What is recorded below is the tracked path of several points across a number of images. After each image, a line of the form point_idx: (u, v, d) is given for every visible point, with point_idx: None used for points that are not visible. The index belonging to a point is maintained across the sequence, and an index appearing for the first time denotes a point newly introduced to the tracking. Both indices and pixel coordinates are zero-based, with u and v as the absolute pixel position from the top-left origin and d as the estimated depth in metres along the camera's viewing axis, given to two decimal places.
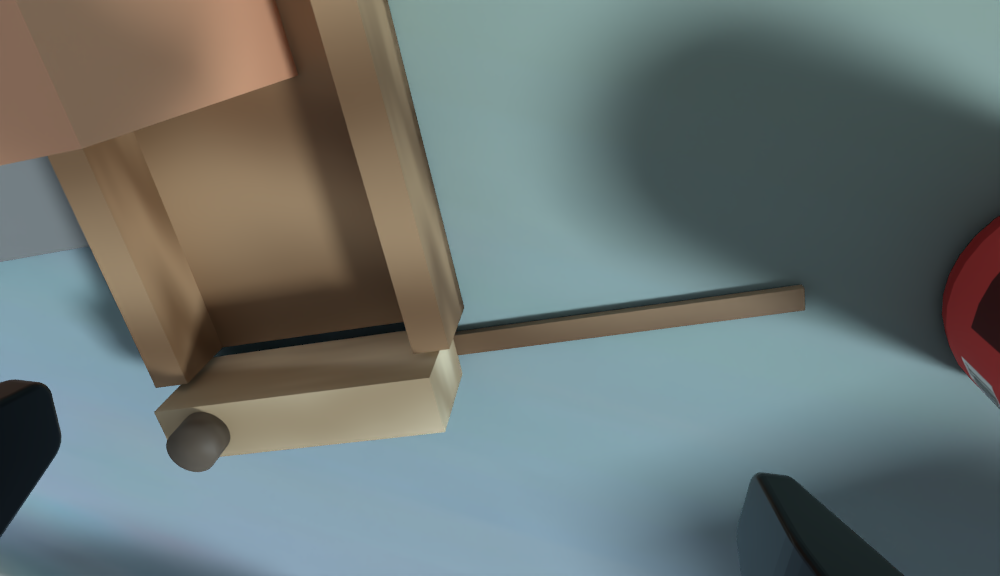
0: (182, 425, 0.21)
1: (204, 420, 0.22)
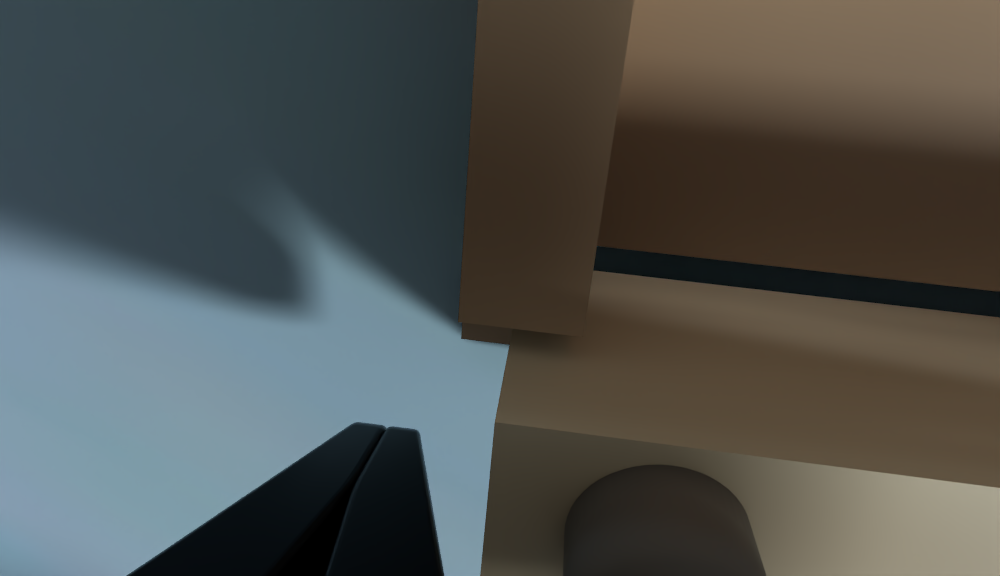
0: (663, 523, 0.05)
1: (730, 516, 0.05)
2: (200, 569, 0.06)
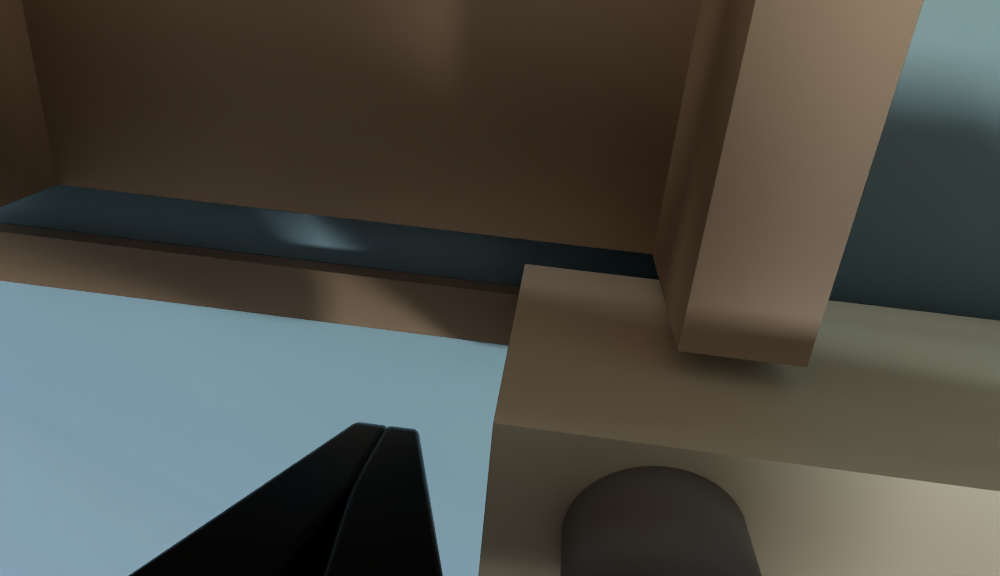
0: (659, 525, 0.05)
1: (726, 516, 0.05)
2: (201, 570, 0.06)
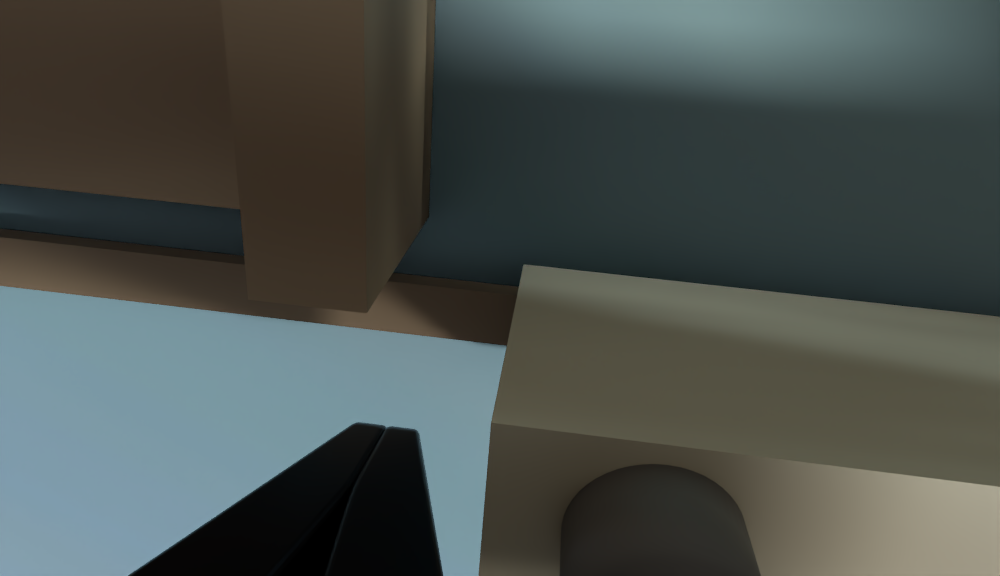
0: (656, 522, 0.05)
1: (722, 514, 0.05)
2: (201, 570, 0.06)
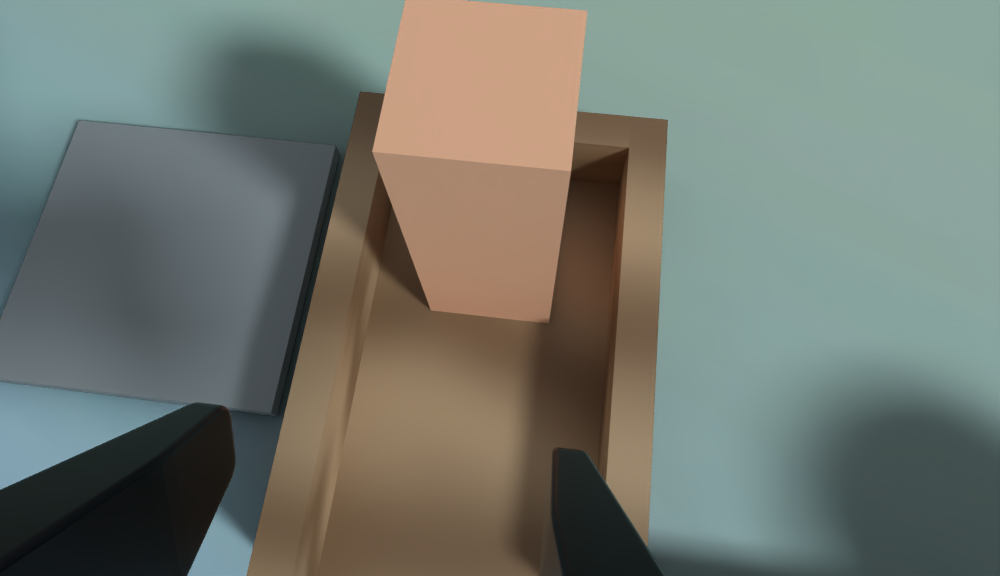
0: None
1: None
2: None
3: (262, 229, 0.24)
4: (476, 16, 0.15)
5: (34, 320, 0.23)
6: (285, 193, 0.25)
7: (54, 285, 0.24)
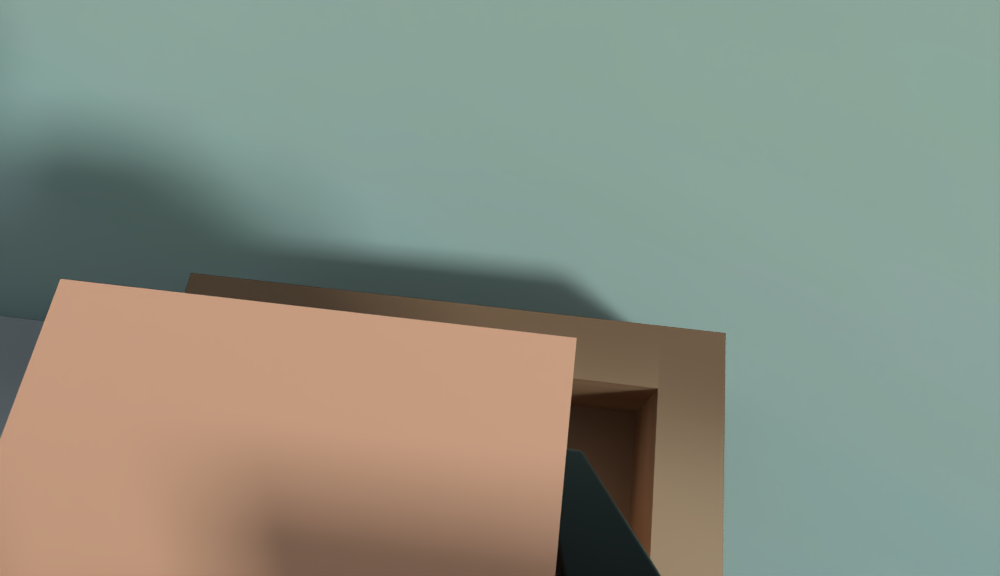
0: None
1: None
2: None
3: None
4: (249, 353, 0.05)
5: None
6: None
7: None
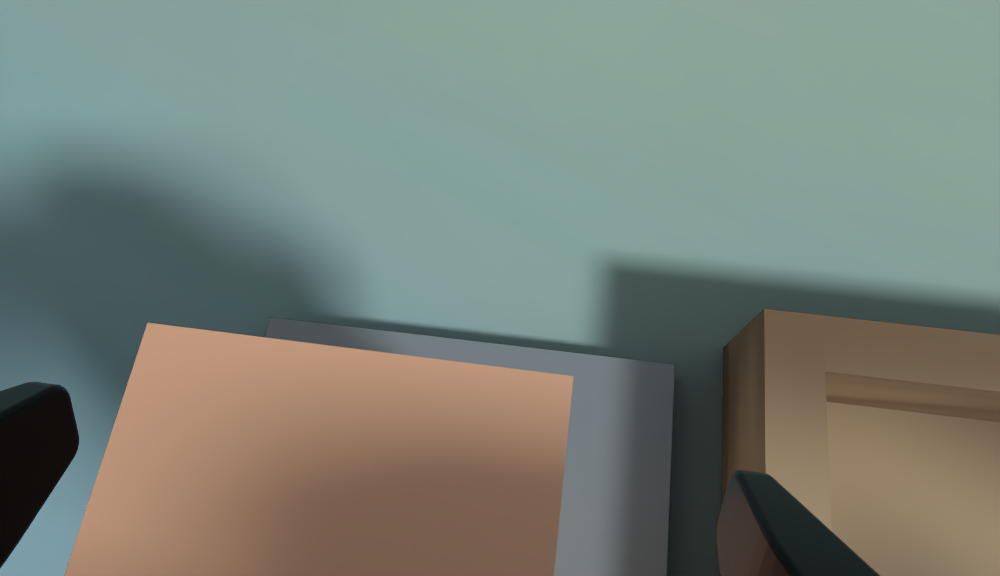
0: None
1: None
2: None
3: (583, 515, 0.15)
4: (305, 387, 0.06)
5: None
6: (610, 449, 0.16)
7: None
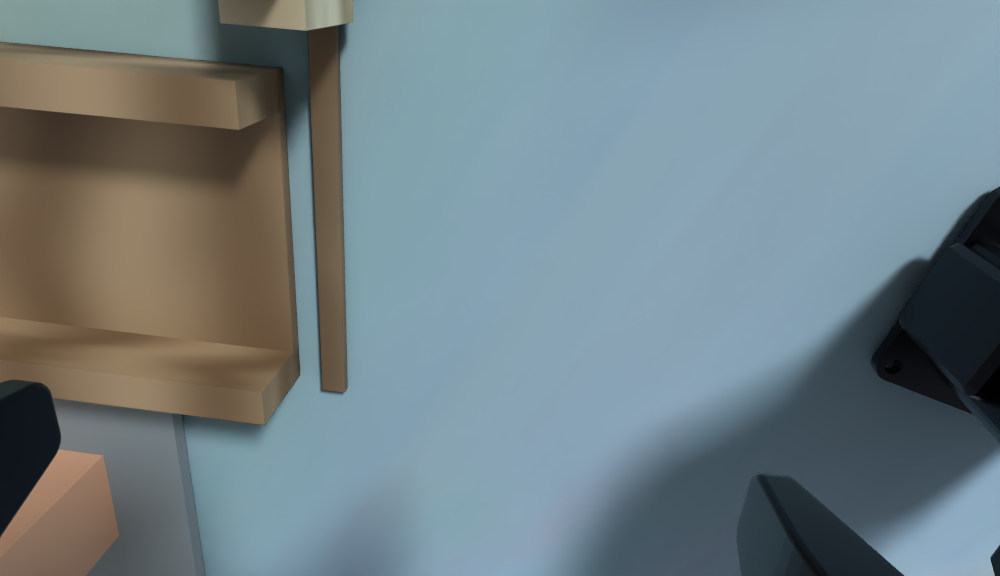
0: None
1: None
2: None
3: None
4: None
5: (147, 571, 0.28)
6: None
7: (117, 563, 0.28)
